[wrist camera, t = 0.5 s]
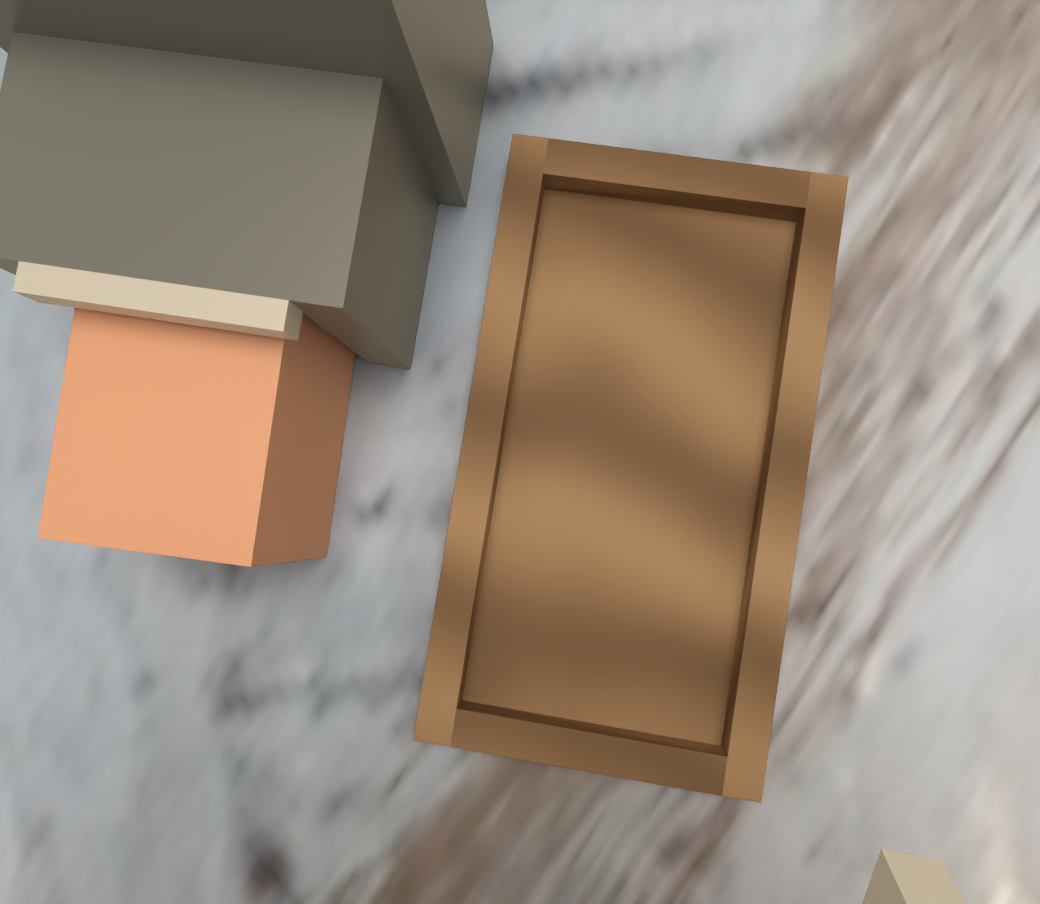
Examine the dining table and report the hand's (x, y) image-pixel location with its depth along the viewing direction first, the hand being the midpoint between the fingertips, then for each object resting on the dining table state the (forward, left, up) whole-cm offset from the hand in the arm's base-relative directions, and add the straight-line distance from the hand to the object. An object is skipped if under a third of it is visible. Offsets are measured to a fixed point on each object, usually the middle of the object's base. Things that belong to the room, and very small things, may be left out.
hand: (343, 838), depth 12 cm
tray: (+7, -4, -20) cm, 21 cm away
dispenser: (+15, +9, -20) cm, 26 cm away
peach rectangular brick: (+8, +9, -20) cm, 23 cm away
